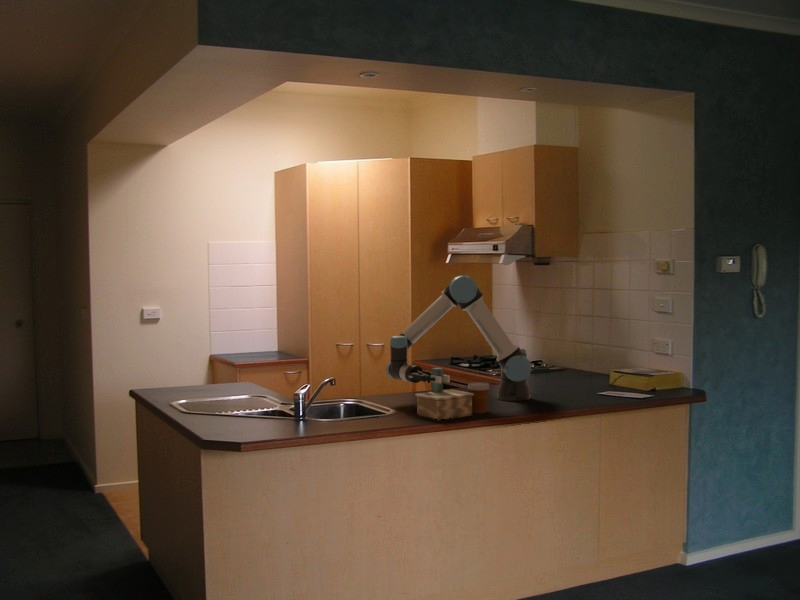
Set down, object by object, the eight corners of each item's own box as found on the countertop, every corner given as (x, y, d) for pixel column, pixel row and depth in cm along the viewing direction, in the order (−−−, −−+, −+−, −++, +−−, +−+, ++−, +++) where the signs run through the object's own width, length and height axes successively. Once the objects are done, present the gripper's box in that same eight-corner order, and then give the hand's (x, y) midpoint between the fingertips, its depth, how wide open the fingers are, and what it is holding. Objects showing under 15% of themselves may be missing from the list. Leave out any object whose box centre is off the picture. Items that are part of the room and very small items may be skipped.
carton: (451, 410, 364) (450, 391, 363) (472, 415, 352) (471, 396, 352) (417, 415, 353) (417, 396, 353) (437, 420, 342) (437, 400, 341)
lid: (451, 390, 364) (450, 365, 363) (473, 395, 352) (473, 369, 351) (415, 395, 353) (415, 369, 352) (437, 400, 341) (437, 373, 340)
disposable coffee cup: (472, 414, 354) (472, 386, 353) (464, 410, 363) (464, 382, 362) (493, 413, 356) (493, 384, 356) (484, 409, 365) (484, 381, 365)
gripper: (427, 380, 376) (460, 386, 357) (396, 383, 366) (429, 390, 347) (426, 363, 375) (460, 368, 356) (396, 366, 366) (429, 372, 347)
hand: (444, 379), depth 352 cm, fingers closed on lid, 3 cm apart
